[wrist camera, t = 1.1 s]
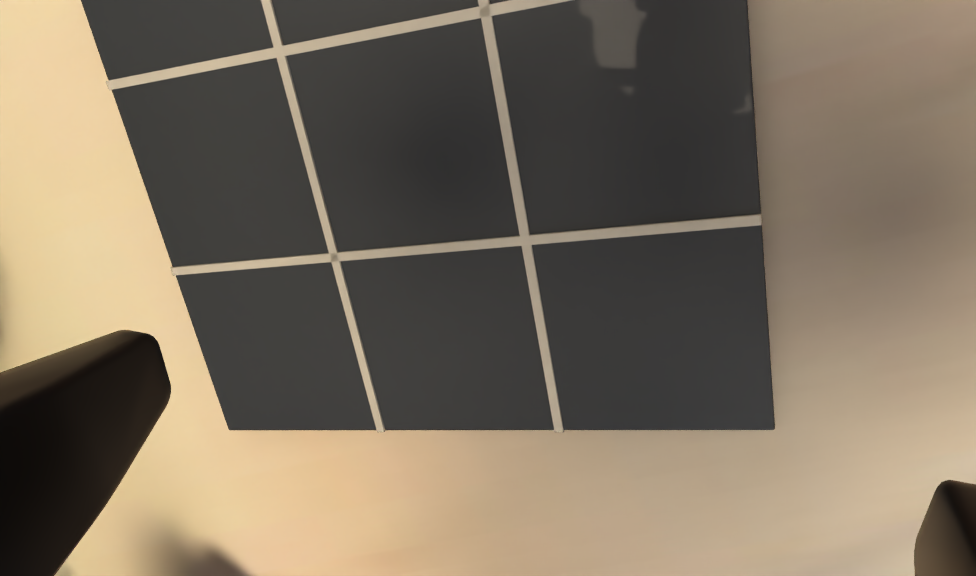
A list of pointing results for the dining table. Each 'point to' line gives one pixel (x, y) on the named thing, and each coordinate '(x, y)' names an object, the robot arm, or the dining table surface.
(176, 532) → the dining table surface
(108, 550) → the dining table surface
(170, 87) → the grid
